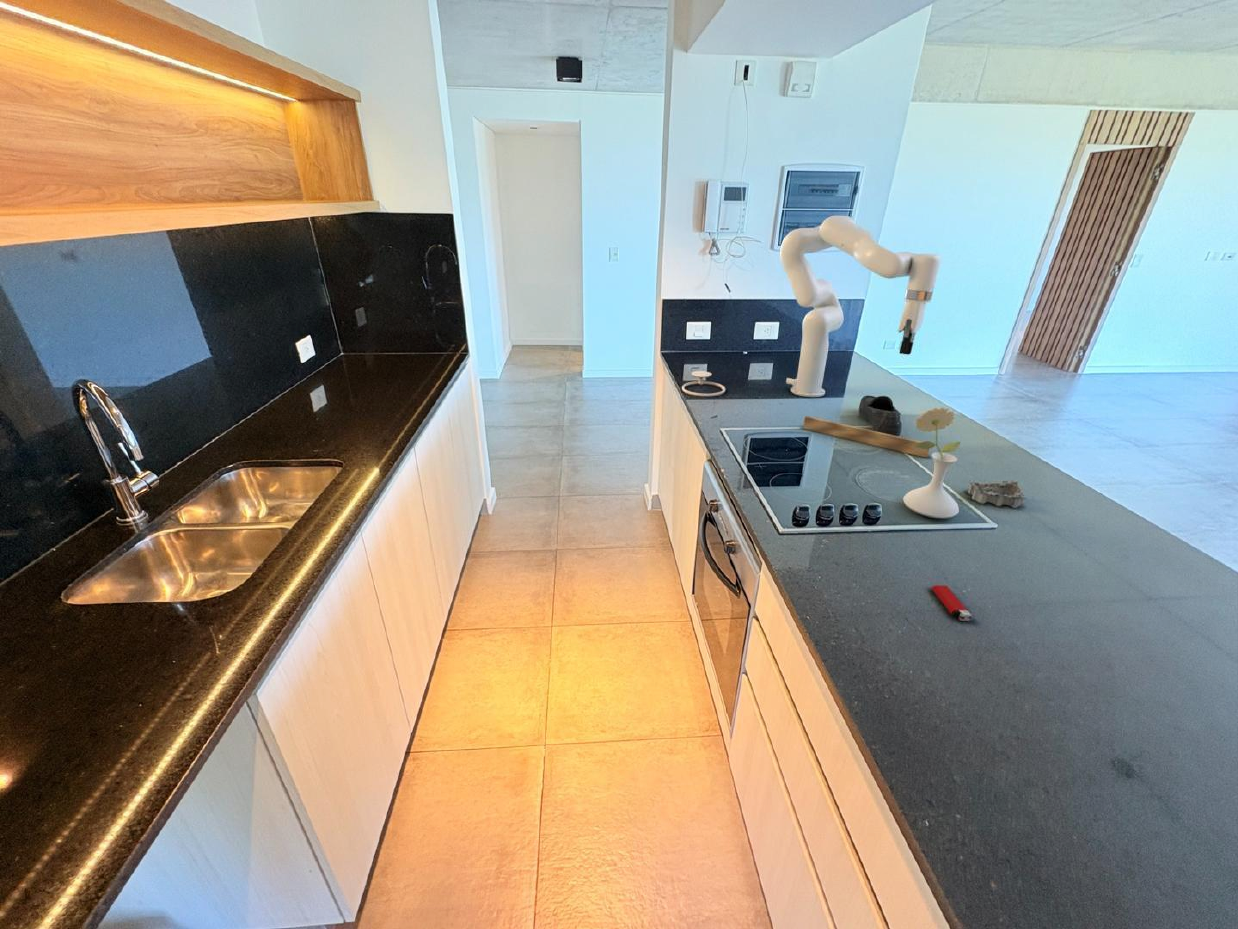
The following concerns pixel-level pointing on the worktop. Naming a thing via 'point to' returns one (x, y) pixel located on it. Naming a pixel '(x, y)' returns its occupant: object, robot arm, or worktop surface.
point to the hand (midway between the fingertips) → (904, 353)
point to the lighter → (952, 602)
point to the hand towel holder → (702, 375)
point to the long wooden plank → (865, 436)
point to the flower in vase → (935, 470)
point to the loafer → (881, 414)
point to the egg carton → (997, 493)
